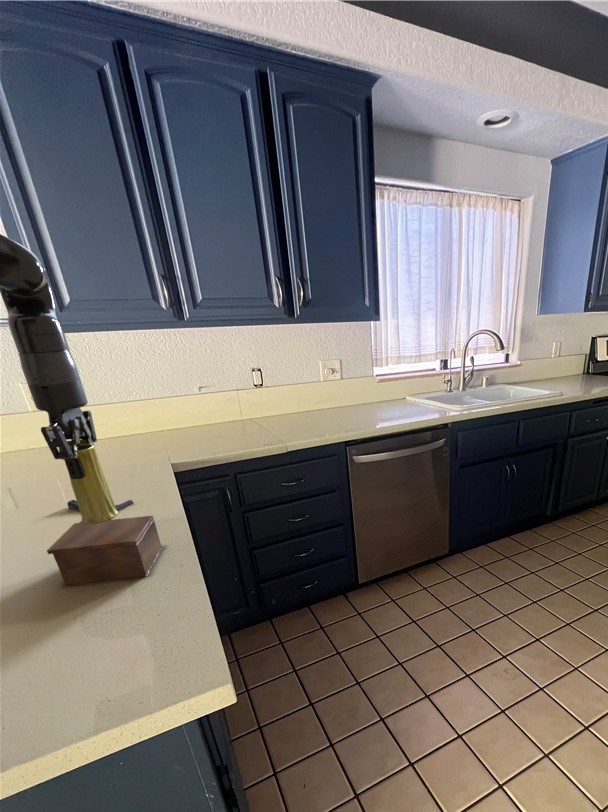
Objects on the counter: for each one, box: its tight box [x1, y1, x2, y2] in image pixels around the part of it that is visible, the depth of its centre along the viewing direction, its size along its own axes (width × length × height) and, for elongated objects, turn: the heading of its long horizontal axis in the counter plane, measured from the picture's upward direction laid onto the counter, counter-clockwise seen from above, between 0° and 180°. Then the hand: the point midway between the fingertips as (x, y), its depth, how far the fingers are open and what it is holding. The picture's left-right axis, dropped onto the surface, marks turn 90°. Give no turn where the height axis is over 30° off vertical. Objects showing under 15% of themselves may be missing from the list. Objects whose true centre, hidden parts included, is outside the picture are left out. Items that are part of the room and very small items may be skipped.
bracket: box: [67, 499, 134, 523], centre depth 114 cm, size 14×15×3 cm
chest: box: [52, 519, 163, 587], centre depth 88 cm, size 15×12×8 cm
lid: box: [46, 515, 155, 555], centre depth 86 cm, size 15×12×1 cm
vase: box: [65, 444, 119, 524], centre depth 81 cm, size 6×6×14 cm
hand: (85, 472), depth 80 cm, fingers closed on vase, 5 cm apart
